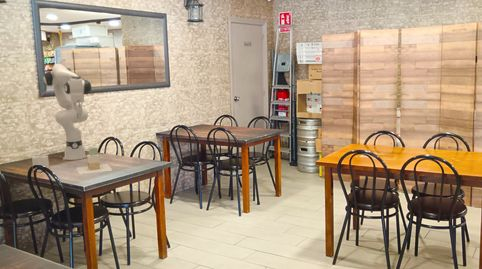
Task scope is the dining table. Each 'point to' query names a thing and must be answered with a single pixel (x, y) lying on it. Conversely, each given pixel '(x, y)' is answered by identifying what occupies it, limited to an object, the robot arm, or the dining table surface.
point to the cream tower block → (93, 159)
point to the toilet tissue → (40, 161)
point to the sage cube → (93, 151)
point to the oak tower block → (93, 166)
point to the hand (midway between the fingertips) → (79, 119)
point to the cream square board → (85, 170)
